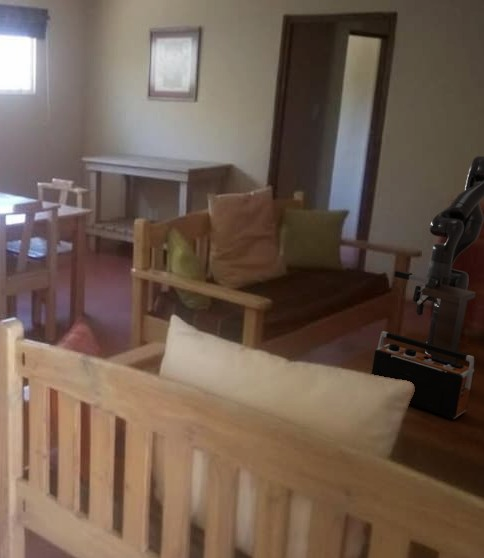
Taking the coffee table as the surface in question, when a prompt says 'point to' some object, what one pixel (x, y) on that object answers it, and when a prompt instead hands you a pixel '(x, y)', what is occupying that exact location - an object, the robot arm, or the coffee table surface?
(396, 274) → the lever
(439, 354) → the stand
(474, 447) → the coffee table surface
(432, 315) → the robot arm
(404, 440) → the coffee table surface
